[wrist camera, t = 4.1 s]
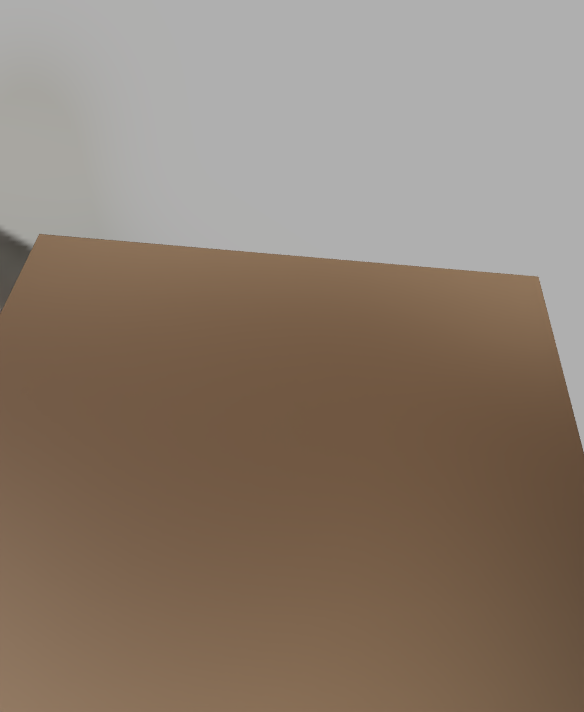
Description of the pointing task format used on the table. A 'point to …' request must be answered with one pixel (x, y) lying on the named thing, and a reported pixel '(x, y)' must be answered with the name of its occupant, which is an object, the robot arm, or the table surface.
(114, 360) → the block
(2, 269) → the table surface
